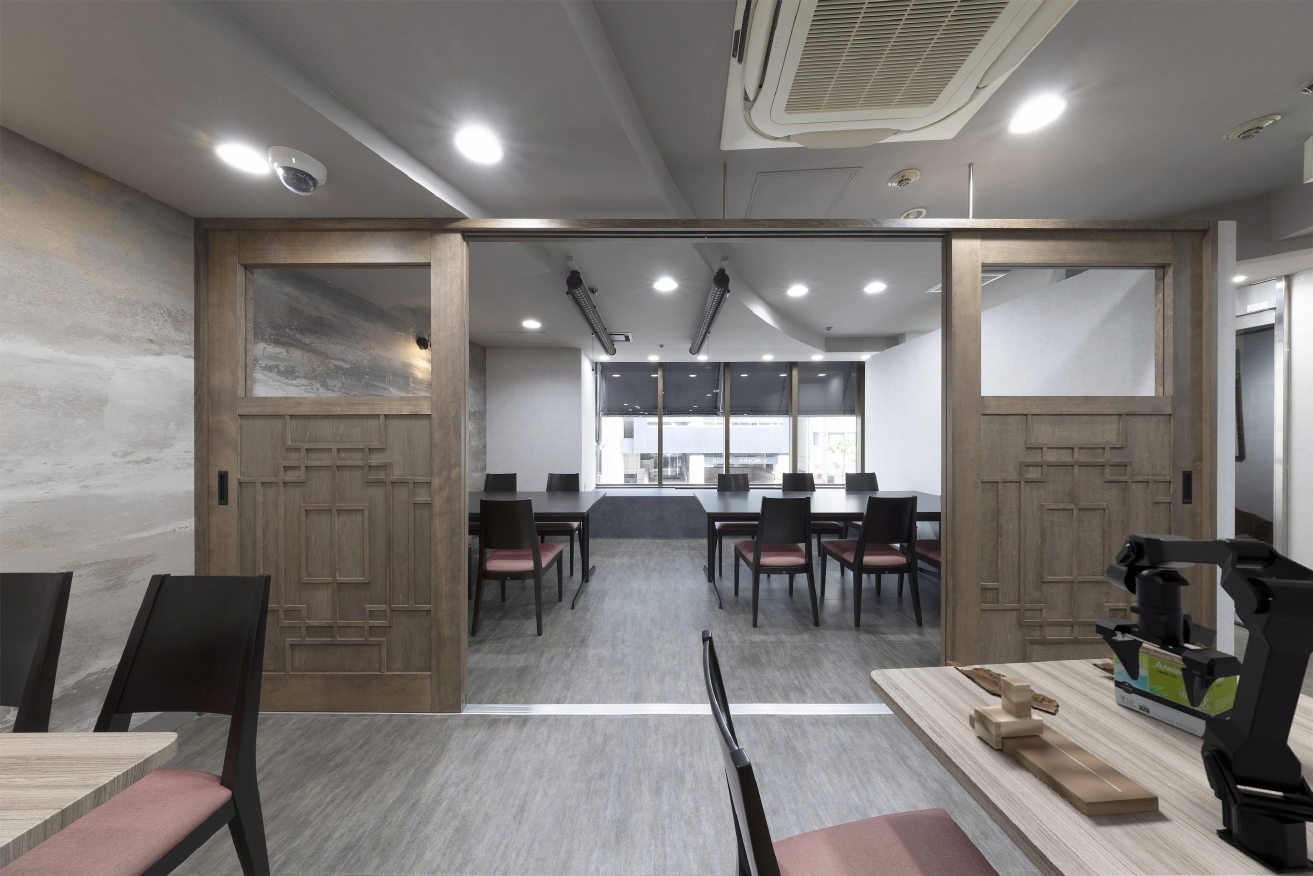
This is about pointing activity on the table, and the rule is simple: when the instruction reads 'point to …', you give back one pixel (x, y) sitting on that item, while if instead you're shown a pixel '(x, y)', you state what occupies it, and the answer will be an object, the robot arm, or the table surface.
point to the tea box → (1171, 691)
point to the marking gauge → (1008, 714)
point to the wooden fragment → (993, 684)
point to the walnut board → (1077, 774)
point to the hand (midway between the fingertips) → (1163, 692)
